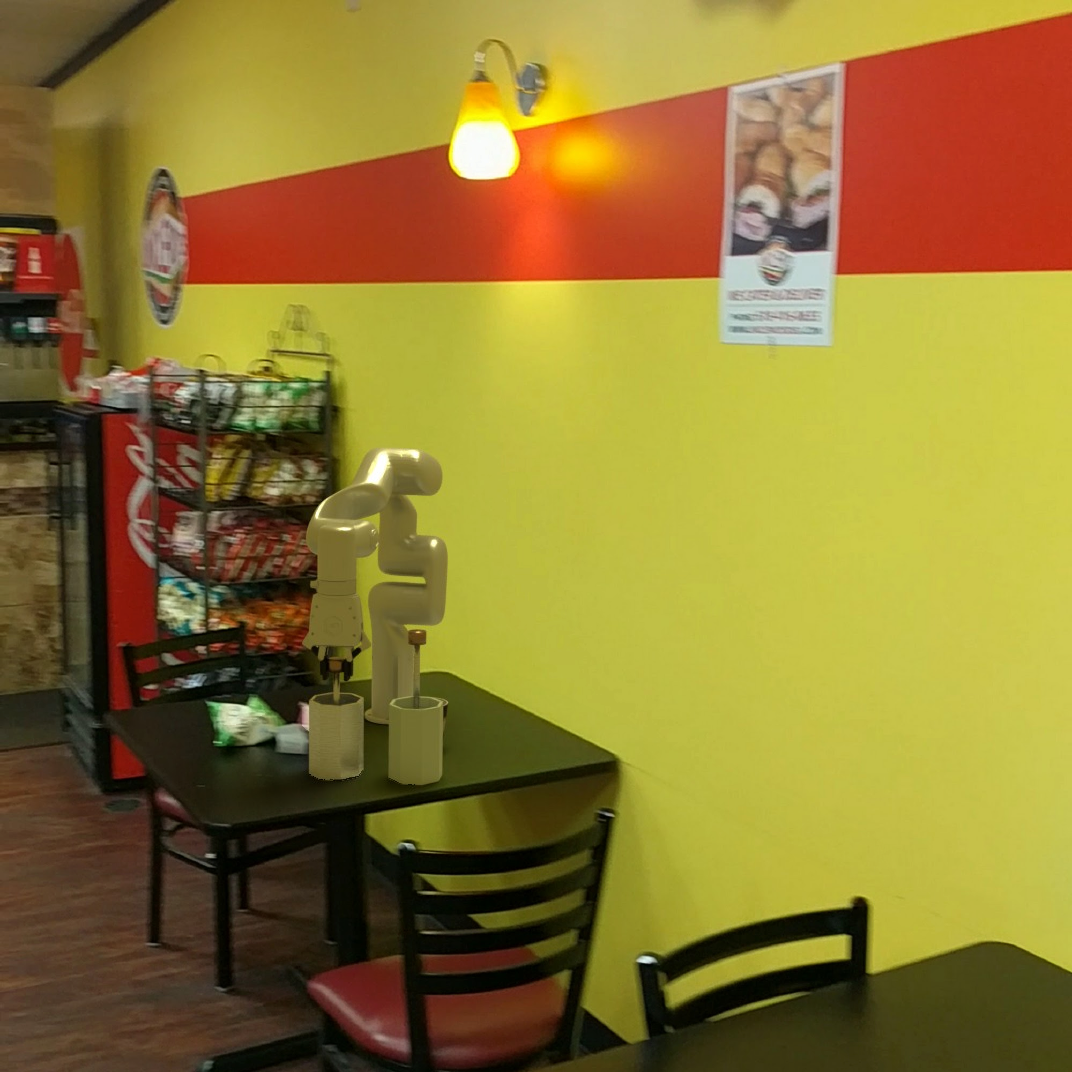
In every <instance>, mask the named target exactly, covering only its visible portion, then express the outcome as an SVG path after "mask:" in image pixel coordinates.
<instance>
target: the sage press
mask: <svg viewBox="0 0 1072 1072" xmlns="http://www.w3.org/2000/svg"><path fill="white" fill-rule="evenodd" d="M435 698H436V697H434V698H432V696H420V699H419V708H426V709H406V708H413V696H408V697H403V698H397V699H393V700H392V702H391V703H390V704H389V724H388V779H389V778H391V779H393V780H395V781H397V782H399V783H402V784H401V785H408V784H412V785H413V786H424V785H428V784H433V783H437V782H439V781H440V780H441V778H442V776H443V751H444V750H443V747H444V746H443V744H444V738H443V701H441V700H438V699H435ZM391 779H390V780H391ZM393 780H392V781H393ZM395 781H394V782H395ZM397 782H396V783H397ZM399 783H398V784H399ZM414 784H415V785H414Z"/></svg>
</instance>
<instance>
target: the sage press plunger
mask: <svg viewBox="0 0 1072 1072" xmlns="http://www.w3.org/2000/svg"><path fill="white" fill-rule="evenodd" d="M408 644H410V645H414V673H413V708H406V709H426V708H419V699H420V697H421V696H420V695H421V694H420V692H421V690H420V689H421V687H420V685H421V683H420V681H421V680H420V679H421V676H420V675H421V646H425V645H427V630H425V629H419V628H418V629H416V628H415V629H414V628H413V629H409V630H408Z"/></svg>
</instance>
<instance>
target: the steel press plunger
mask: <svg viewBox="0 0 1072 1072" xmlns="http://www.w3.org/2000/svg"><path fill="white" fill-rule="evenodd" d="M345 658H346V657H343V656H332V657H329V658H328V659H327V671H328V672H330V674H333V692H334V704H333V705H340V693H341V692H340V689H341V685H340V684H341V680H340V679H341V678H340V677H341V676H340V675H341V673H344V662H345Z"/></svg>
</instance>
